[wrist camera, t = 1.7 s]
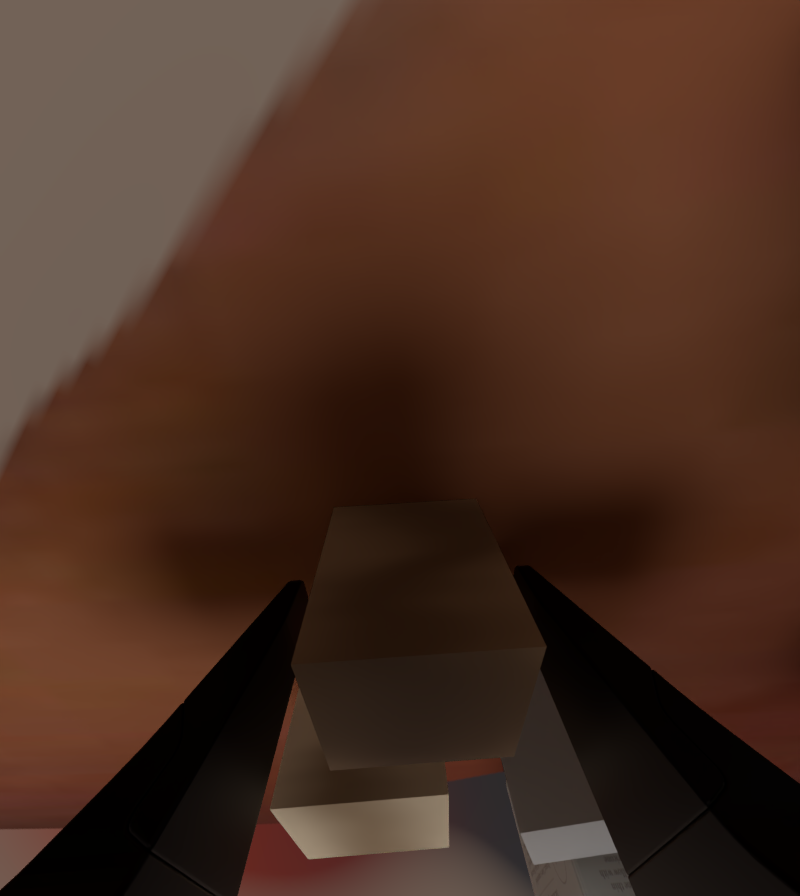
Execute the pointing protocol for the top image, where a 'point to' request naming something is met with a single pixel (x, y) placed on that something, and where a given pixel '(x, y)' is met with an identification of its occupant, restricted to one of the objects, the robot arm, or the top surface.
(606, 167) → the top surface
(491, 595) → the walnut cube
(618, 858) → the small box
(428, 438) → the top surface
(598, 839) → the grey cube
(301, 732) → the maple block
